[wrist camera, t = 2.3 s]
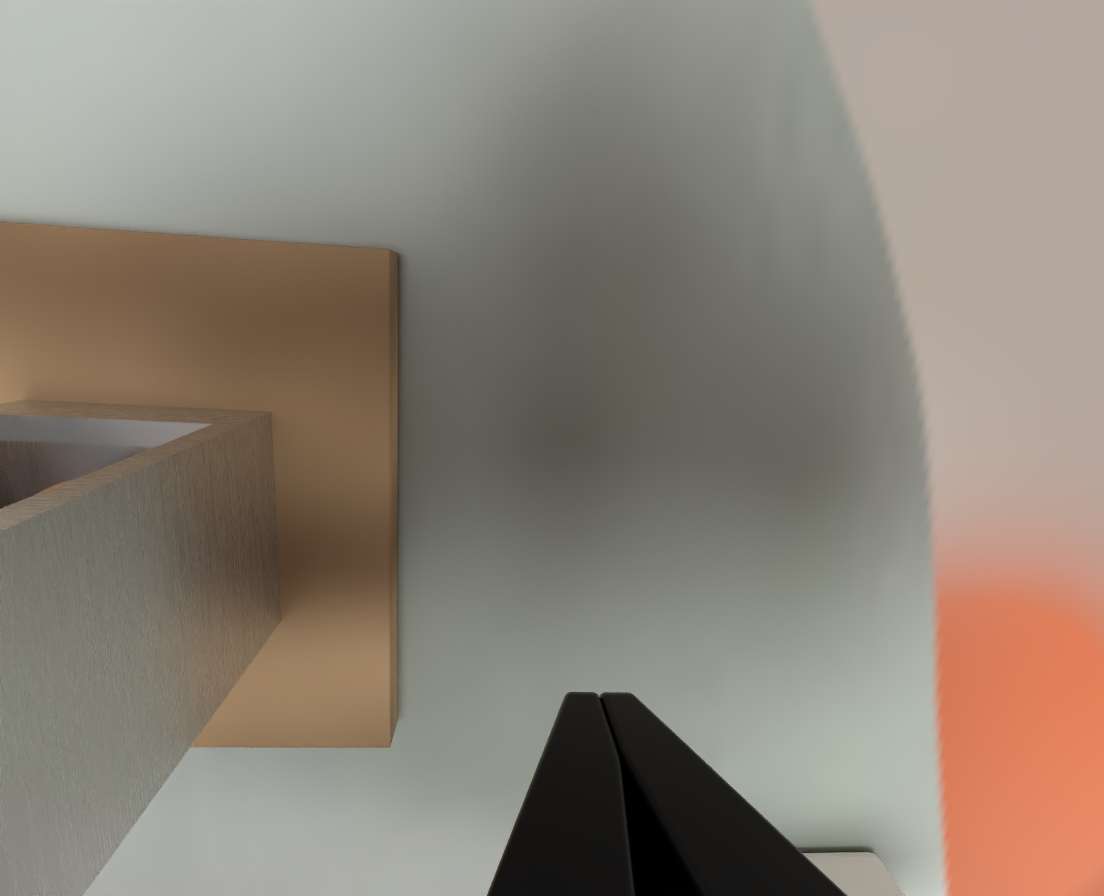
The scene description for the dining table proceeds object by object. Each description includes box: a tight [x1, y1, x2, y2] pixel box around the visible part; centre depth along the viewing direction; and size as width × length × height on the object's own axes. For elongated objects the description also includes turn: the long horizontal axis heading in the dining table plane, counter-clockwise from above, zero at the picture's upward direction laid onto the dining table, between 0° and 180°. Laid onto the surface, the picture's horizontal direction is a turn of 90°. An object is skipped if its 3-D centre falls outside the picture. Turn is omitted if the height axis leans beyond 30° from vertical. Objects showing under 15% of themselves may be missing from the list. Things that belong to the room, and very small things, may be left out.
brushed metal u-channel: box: [0, 400, 282, 896], centre depth 9 cm, size 5×5×8 cm
